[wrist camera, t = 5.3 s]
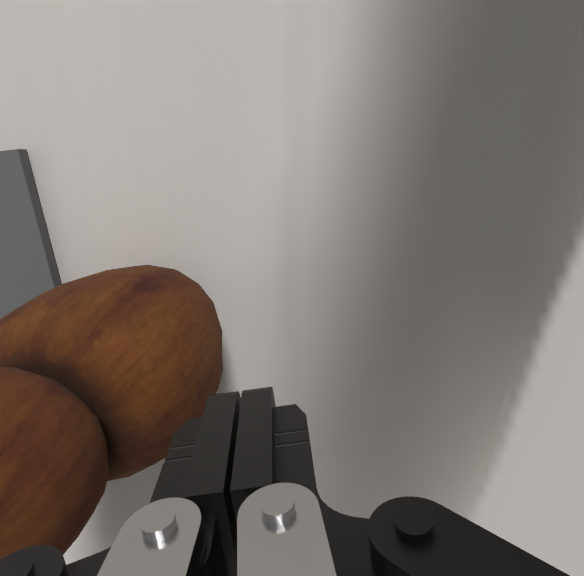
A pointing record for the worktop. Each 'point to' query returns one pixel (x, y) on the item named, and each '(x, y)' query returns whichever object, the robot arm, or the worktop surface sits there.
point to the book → (22, 236)
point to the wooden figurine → (96, 392)
